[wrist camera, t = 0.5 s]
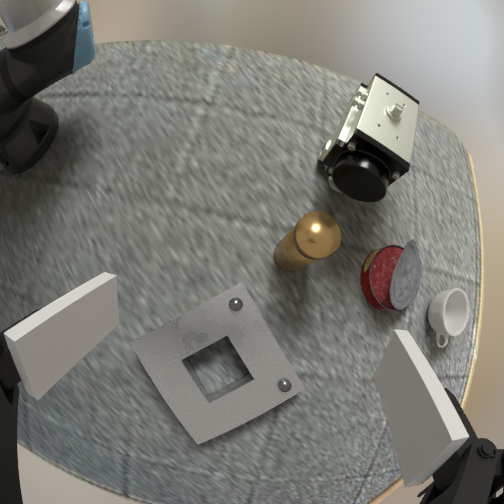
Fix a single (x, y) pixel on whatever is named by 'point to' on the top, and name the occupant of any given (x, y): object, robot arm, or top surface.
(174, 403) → the jig
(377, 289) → the canned food
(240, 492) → the top surface
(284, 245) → the gold metal cylinder
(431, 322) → the teacup
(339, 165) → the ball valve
